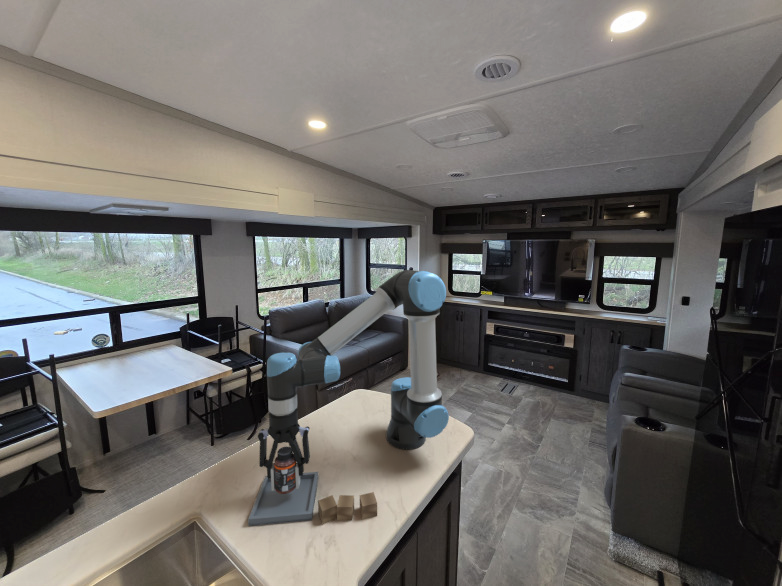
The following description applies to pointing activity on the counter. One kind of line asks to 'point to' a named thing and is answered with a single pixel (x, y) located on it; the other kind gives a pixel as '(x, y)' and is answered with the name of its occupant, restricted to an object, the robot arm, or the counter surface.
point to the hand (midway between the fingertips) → (286, 486)
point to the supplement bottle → (285, 471)
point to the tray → (285, 502)
